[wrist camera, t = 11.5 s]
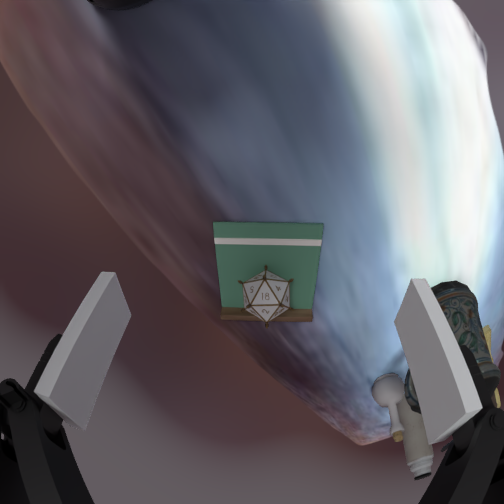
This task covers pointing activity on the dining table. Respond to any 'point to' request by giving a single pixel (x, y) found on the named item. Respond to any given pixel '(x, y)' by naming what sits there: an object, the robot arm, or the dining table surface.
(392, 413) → the potion bottle
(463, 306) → the beer stein
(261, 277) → the game die
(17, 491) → the robot arm
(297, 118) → the dining table surface
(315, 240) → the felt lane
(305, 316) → the walnut backstop rail
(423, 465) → the thermos bottle
